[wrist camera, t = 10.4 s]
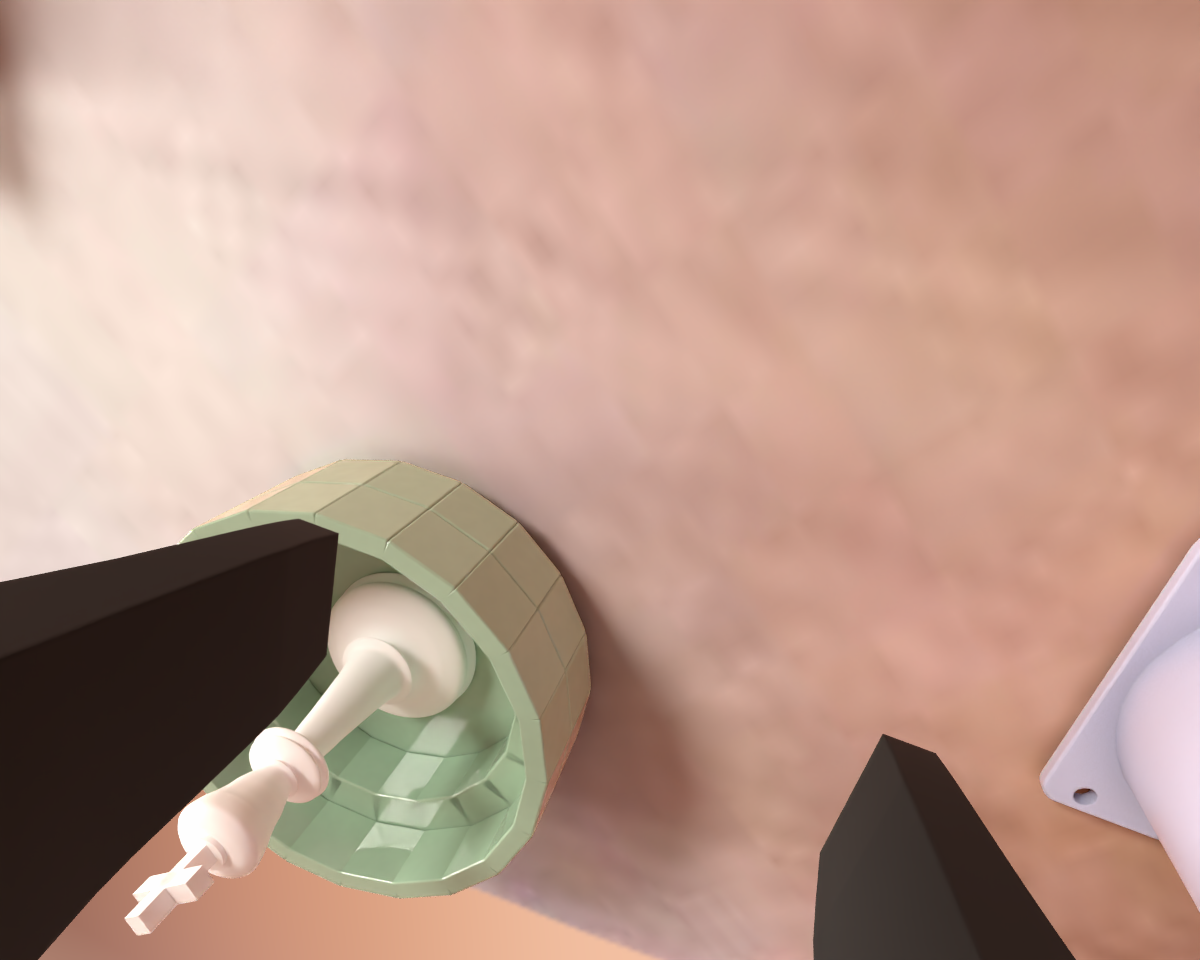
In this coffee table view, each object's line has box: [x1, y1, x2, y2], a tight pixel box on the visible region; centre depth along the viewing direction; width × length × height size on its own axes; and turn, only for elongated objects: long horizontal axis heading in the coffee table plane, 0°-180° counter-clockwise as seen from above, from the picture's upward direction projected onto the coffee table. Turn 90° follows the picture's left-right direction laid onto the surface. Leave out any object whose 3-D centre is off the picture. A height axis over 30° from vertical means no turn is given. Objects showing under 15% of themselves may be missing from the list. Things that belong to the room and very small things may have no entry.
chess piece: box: [125, 573, 476, 935], centre depth 18 cm, size 5×5×10 cm
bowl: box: [178, 459, 591, 898], centre depth 21 cm, size 12×12×4 cm
